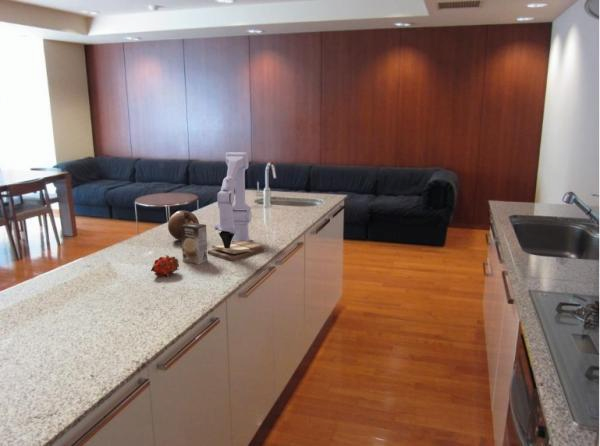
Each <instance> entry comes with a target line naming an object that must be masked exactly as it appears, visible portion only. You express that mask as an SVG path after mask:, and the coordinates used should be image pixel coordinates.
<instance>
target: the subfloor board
mask: <svg viewBox="0 0 600 446" xmlns="http://www.w3.org/2000/svg"><path fill="white" fill-rule="evenodd" d="M231 243H232V244H236V245H240V246H243V247H247V248H250V251H247V252H241V253H236V254H232V253H228V252H225V251H221V250H218V249H214V248H211V249H209V250H207V255H210V256H213V257H217V258H219V259H224V260H227V261H231V262H232V261H235V260H239V259H242V258H246V257H248V256H253V255H256V254H258V253H262V252H265V247H263V246H262V244H259V243H255V242H252V241H244V240H239V241H235V242H234V241H231Z"/></svg>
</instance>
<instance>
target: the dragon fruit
mask: <svg viewBox="0 0 600 446" xmlns="http://www.w3.org/2000/svg"><path fill="white" fill-rule="evenodd" d="M179 263H180V262H179V259H177V258H176V256H169V255H167V254H166V255H165V256H159V258H158V259H155V261H154V263H153V265H152V267H151V270H150V272H154V275H155V277H157V276H158V277H163V276H167V277H169V276H171V275H173V274H174V272H177V271H178V270H179V267H180V265H179Z"/></svg>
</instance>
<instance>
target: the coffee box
mask: <svg viewBox="0 0 600 446" xmlns="http://www.w3.org/2000/svg"><path fill="white" fill-rule="evenodd" d="M181 234H182V241H181V249H182V252H181V253H182V262H185V263H191V264H196V265H200V264H202V263H205V262H207V261H208V240H207V239H208V237H207V224H204V223H203V224H202V223H199V224H197V223H190V222H189V223H187V224H184V225H182V226H181Z"/></svg>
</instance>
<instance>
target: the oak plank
mask: <svg viewBox="0 0 600 446" xmlns="http://www.w3.org/2000/svg"><path fill="white" fill-rule="evenodd" d="M212 249H218V250H221V251H225V252H228V253H232V254H236V253H241V252H247V251H250V248H247V247H243V246H240V245H236V244H232V243H231V244H230V248H224V244H223V243H219V244H213V245H212Z"/></svg>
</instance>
